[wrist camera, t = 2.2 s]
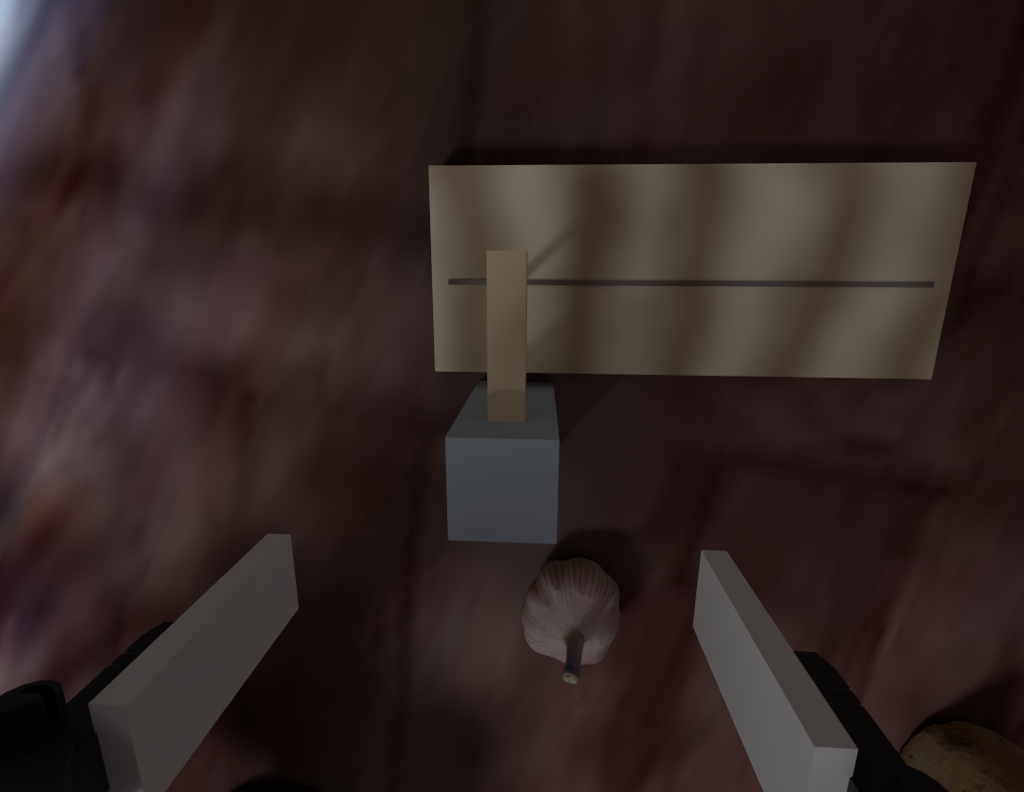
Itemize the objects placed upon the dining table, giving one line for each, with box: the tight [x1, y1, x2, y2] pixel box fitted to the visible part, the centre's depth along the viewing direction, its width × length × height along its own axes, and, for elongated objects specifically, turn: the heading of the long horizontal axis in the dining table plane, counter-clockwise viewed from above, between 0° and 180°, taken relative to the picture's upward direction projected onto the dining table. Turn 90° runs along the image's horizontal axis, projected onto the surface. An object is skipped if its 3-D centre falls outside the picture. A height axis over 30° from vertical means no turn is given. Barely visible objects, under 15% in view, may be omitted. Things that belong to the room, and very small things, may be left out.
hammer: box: [445, 250, 560, 544], centre depth 27 cm, size 5×13×12 cm, turn 0°
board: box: [429, 162, 977, 379], centre depth 30 cm, size 30×12×2 cm, turn 90°
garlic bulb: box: [521, 557, 621, 684], centre depth 33 cm, size 8×7×8 cm
